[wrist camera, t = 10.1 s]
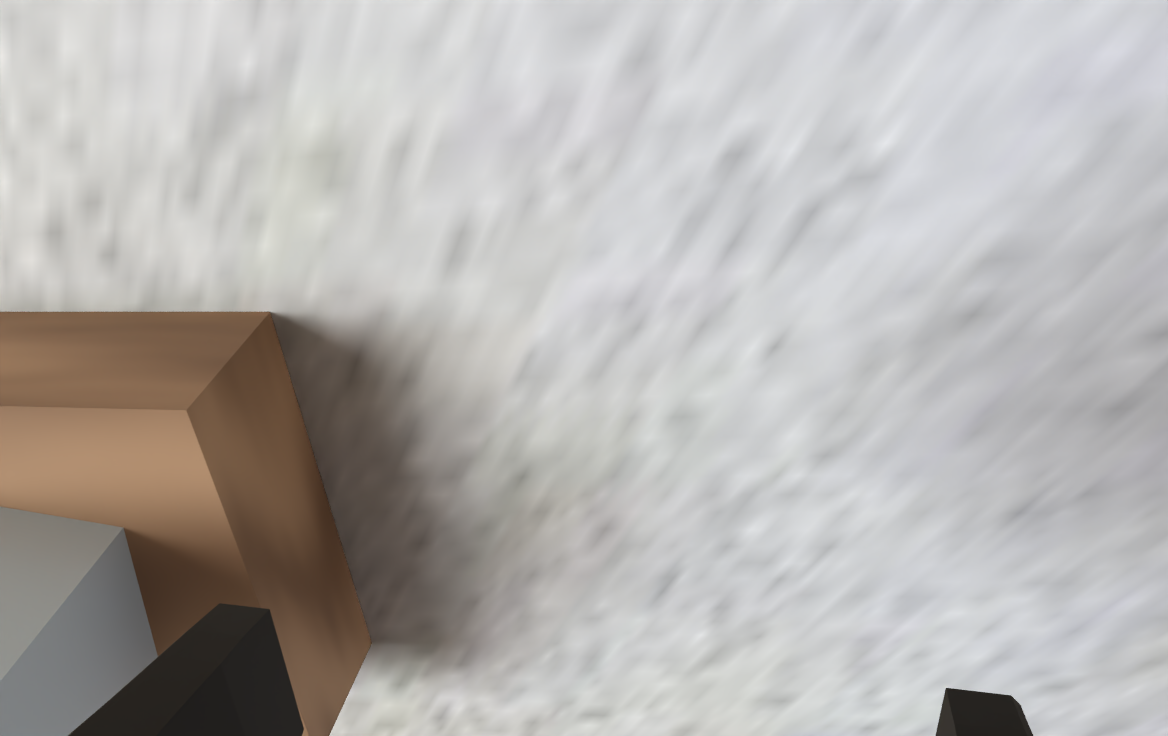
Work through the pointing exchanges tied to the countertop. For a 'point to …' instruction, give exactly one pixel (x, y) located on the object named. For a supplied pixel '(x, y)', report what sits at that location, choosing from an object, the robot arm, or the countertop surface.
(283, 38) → the countertop surface
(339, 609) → the walnut block
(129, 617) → the slate block
